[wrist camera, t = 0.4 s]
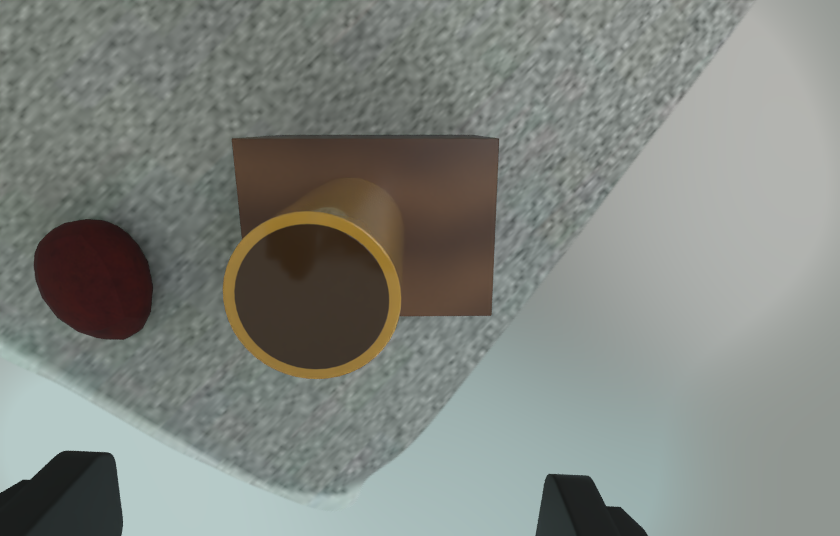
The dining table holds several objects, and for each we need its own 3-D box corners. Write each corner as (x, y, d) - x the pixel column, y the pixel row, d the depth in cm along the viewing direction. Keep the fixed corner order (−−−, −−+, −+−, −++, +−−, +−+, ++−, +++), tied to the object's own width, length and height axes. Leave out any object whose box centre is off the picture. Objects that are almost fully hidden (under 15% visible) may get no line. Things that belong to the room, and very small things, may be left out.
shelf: (280, 135, 35) (231, 138, 26) (475, 135, 36) (499, 138, 26) (290, 269, 38) (249, 317, 28) (471, 268, 38) (491, 315, 29)
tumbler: (291, 177, 26) (212, 211, 16) (404, 177, 26) (400, 211, 16) (299, 284, 28) (231, 380, 17) (405, 283, 28) (401, 379, 18)
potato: (155, 208, 37) (108, 224, 31) (180, 320, 39) (140, 354, 33) (55, 215, 37) (-12, 232, 31) (86, 327, 39) (30, 362, 33)
